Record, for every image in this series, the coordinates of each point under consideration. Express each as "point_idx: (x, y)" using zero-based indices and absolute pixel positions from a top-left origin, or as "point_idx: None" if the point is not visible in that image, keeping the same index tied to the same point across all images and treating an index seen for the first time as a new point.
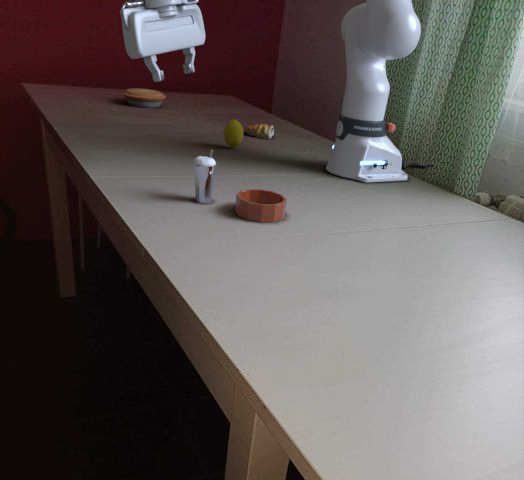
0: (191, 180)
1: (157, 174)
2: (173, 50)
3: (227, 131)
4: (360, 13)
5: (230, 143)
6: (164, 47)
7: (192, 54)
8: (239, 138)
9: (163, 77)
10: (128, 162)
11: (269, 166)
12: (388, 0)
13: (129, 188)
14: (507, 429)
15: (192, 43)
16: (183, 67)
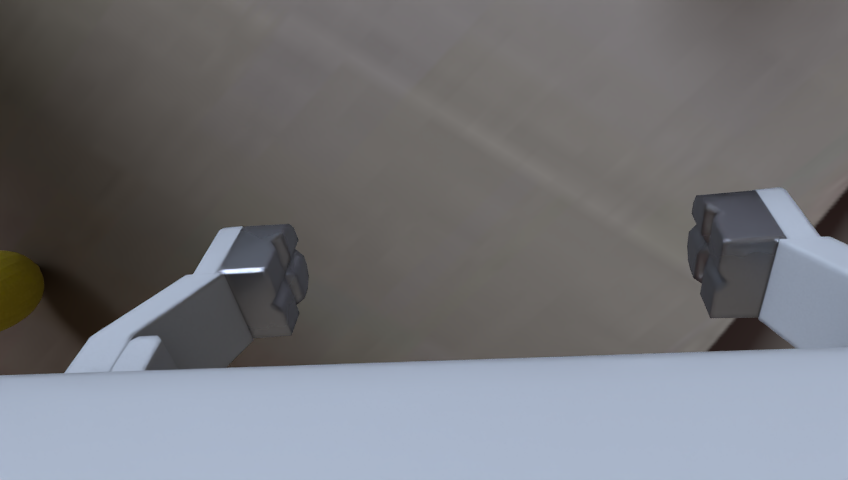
0: (448, 53)
1: (510, 190)
2: (511, 360)
3: (12, 302)
4: None
5: (36, 269)
6: (758, 393)
7: (144, 330)
8: None
9: (720, 196)
10: (494, 349)
11: (22, 21)
12: None
13: (760, 113)
14: None
15: (72, 391)
16: (296, 314)
